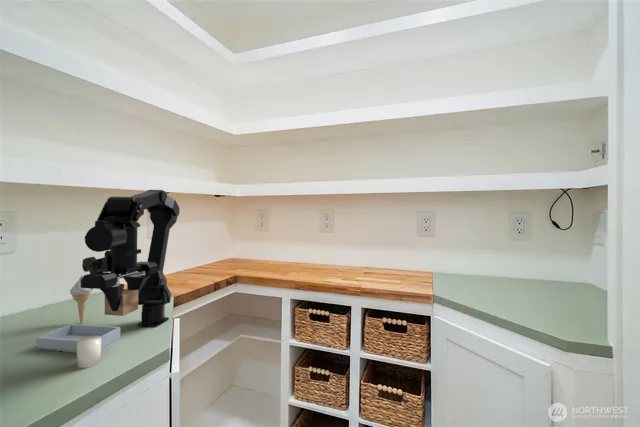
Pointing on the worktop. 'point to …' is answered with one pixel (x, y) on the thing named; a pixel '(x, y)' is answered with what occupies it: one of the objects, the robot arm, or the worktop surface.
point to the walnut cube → (124, 303)
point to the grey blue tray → (76, 337)
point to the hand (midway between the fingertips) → (123, 307)
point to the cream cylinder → (88, 351)
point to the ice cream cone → (80, 297)
